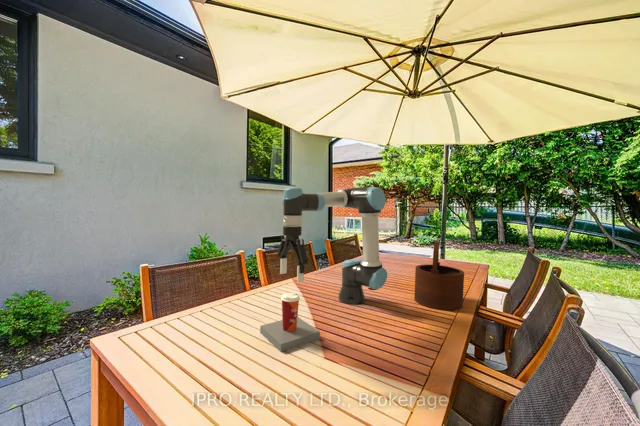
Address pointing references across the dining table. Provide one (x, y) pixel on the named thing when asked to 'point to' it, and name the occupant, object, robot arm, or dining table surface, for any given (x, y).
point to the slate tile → (289, 334)
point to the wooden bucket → (439, 285)
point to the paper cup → (290, 311)
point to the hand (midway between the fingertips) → (291, 277)
